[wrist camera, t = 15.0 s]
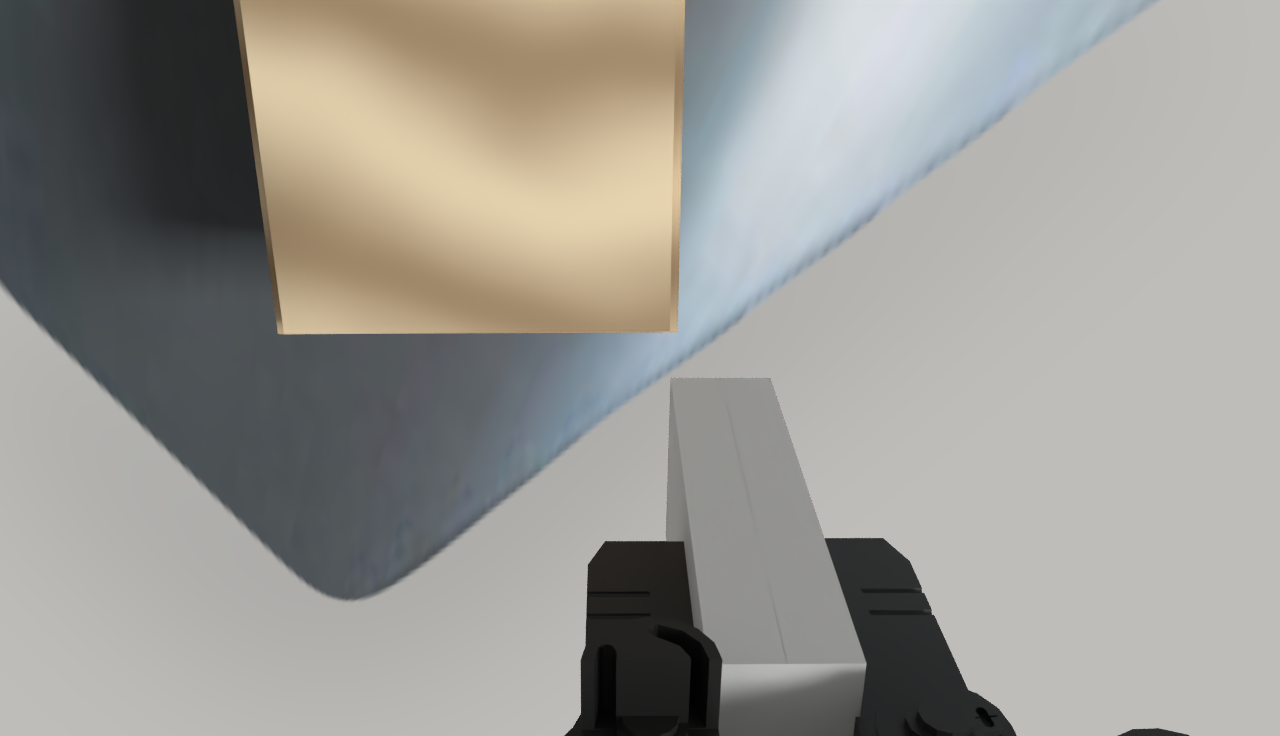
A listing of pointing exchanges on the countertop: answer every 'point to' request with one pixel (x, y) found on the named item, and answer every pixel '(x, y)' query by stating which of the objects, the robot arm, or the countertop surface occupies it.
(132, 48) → the countertop surface
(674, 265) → the wooden box
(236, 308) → the countertop surface
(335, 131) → the flap
